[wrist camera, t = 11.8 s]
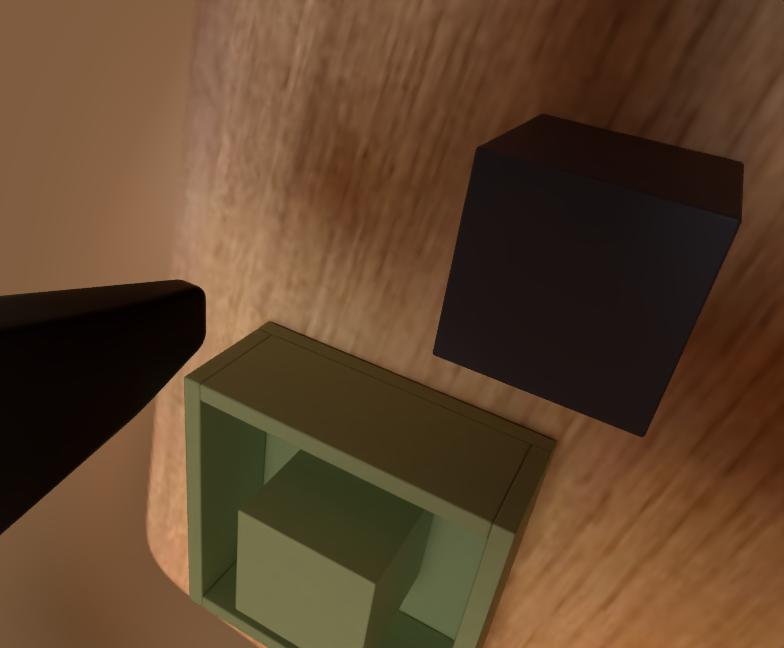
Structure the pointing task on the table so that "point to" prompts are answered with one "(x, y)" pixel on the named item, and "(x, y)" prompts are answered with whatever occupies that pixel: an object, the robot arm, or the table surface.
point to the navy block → (586, 264)
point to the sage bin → (358, 474)
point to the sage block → (327, 555)
